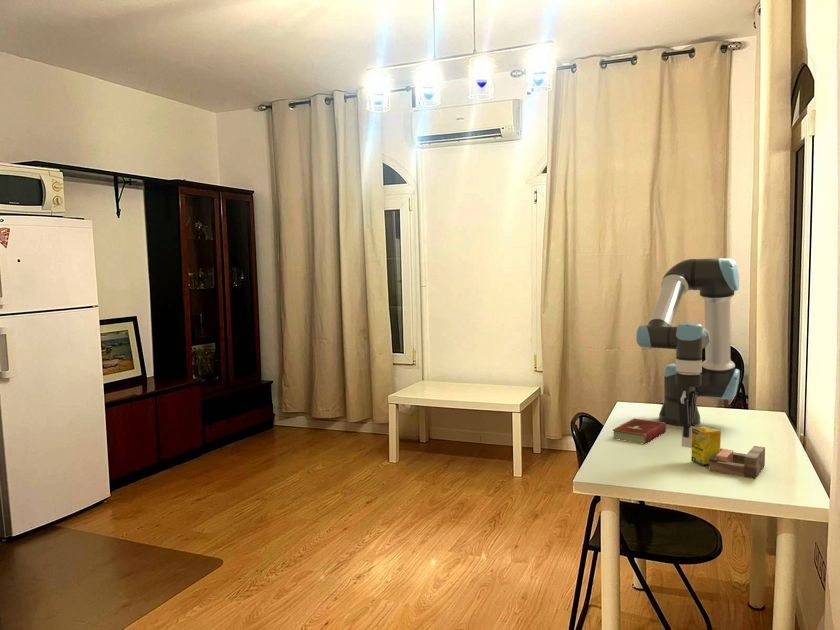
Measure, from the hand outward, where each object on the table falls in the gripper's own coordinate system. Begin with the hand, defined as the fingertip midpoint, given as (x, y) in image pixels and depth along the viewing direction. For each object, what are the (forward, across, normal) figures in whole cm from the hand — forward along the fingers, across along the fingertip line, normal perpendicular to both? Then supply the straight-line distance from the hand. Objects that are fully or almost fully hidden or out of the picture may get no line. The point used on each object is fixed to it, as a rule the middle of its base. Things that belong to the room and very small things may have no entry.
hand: (686, 446), depth 201 cm
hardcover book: (+5, -21, -22) cm, 31 cm away
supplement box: (+5, 0, +6) cm, 7 cm away
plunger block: (+4, 0, +11) cm, 12 cm away
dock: (+4, 0, +15) cm, 15 cm away
